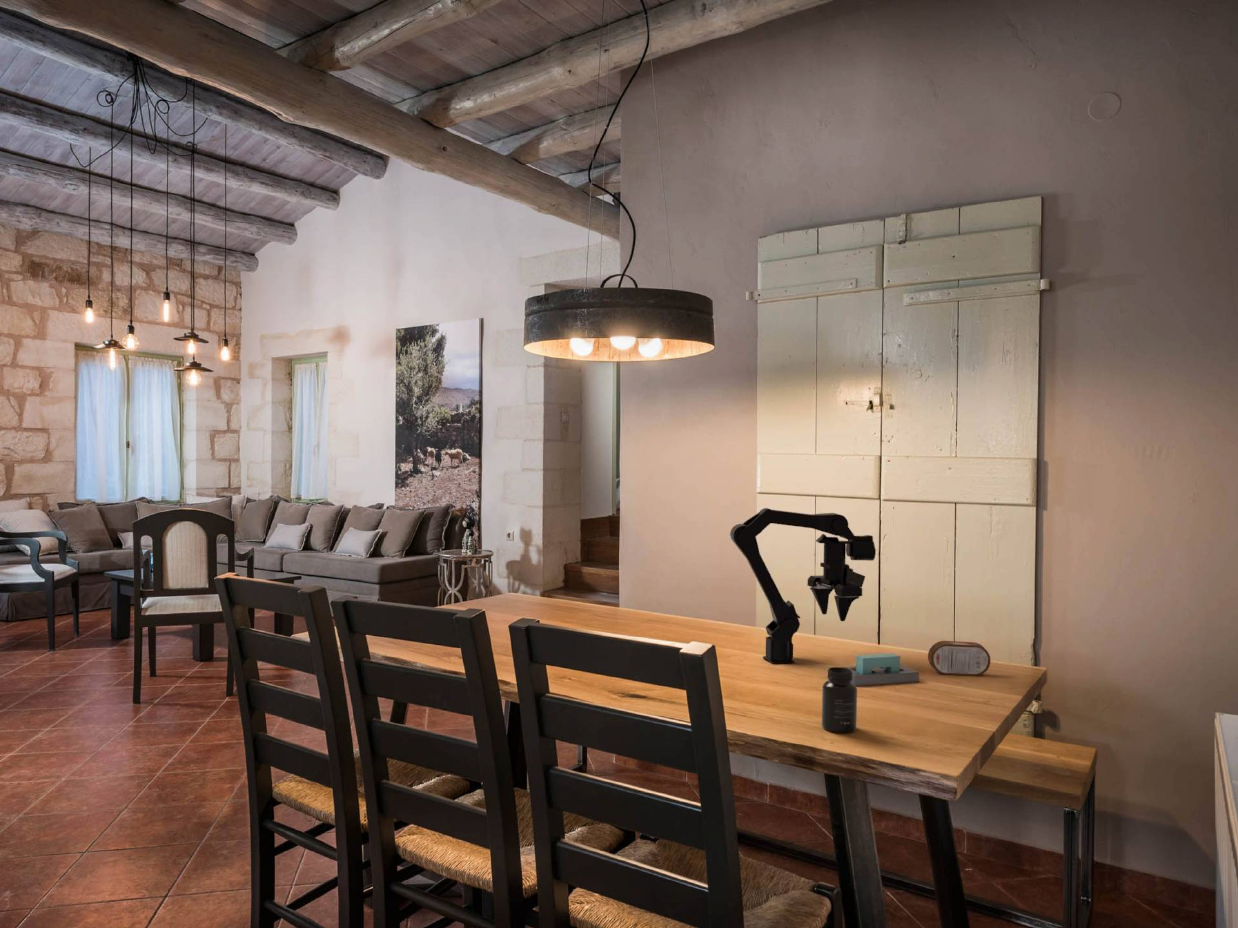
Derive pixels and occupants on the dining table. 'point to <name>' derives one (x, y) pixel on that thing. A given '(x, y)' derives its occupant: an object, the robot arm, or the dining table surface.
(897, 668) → the teal u-shaped block
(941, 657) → the tin
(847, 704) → the supplement bottle
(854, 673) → the plate with rectangular holes
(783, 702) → the dining table surface
